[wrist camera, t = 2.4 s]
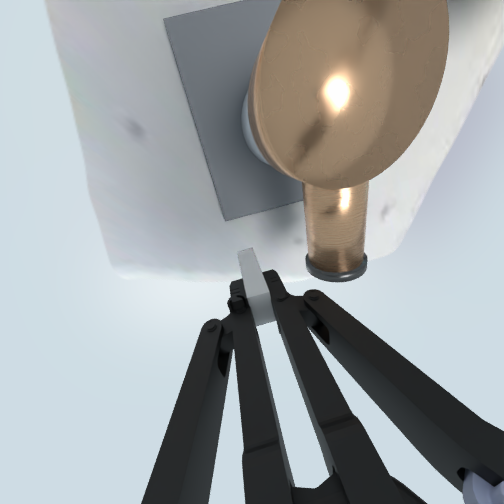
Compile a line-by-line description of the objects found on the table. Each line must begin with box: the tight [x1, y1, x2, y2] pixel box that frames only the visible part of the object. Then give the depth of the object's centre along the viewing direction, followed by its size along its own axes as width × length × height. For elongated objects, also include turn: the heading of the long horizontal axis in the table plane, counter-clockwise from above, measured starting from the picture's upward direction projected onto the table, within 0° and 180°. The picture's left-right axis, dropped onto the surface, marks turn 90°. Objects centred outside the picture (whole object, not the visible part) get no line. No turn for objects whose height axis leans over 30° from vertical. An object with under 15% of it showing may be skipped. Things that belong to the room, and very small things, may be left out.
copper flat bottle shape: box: [247, 0, 449, 282], centre depth 18 cm, size 23×13×7 cm, turn 13°
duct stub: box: [163, 0, 303, 221], centre depth 24 cm, size 28×24×11 cm
